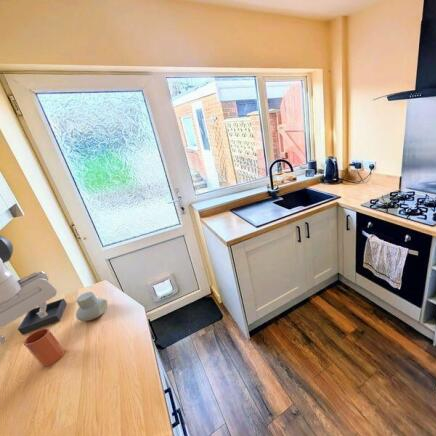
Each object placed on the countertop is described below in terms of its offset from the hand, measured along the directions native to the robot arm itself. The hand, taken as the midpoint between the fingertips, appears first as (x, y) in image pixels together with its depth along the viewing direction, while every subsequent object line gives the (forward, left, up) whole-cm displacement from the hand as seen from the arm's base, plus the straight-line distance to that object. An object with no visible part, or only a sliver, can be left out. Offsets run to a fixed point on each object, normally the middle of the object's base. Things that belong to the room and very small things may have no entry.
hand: (24, 328), depth 71 cm
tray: (-13, +38, -22) cm, 46 cm away
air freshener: (+6, +27, -22) cm, 35 cm away
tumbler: (-4, +10, -22) cm, 24 cm away
